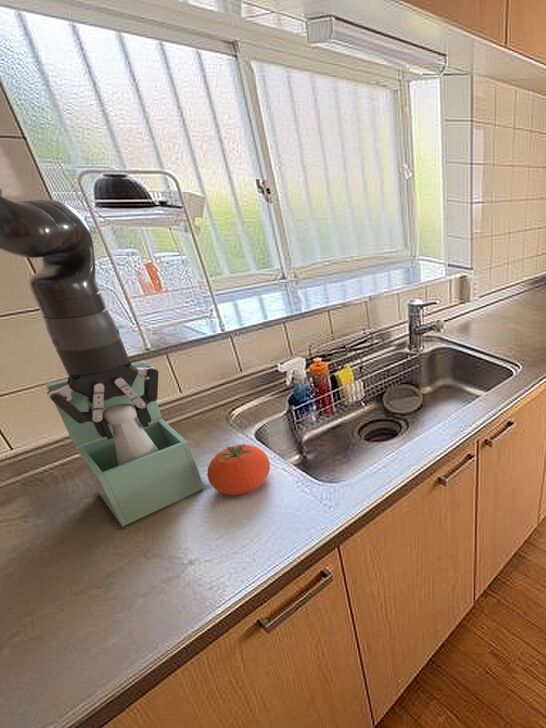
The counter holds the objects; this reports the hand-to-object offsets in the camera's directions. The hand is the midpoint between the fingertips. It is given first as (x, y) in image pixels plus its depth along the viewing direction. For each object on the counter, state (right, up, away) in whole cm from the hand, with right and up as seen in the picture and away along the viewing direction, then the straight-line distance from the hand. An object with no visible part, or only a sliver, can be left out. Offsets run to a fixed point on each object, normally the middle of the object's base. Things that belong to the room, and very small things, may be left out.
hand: (127, 430), depth 73 cm
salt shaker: (0, -7, +4) cm, 8 cm away
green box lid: (-4, +5, +1) cm, 6 cm away
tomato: (+14, -13, +10) cm, 22 cm away
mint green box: (-2, -13, +7) cm, 15 cm away
